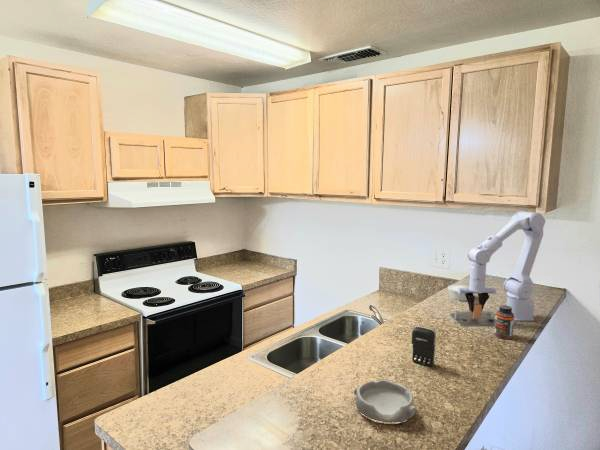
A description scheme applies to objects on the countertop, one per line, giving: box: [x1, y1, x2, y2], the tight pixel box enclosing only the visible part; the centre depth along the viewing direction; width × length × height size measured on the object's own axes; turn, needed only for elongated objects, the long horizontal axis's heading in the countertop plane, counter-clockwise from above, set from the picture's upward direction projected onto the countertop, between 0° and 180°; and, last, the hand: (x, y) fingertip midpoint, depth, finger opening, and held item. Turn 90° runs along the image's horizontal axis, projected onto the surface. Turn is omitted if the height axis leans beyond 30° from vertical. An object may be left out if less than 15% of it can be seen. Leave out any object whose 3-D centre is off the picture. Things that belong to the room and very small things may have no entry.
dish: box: [353, 379, 417, 422], centre depth 97 cm, size 14×14×5 cm
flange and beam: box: [449, 310, 496, 327], centre depth 155 cm, size 16×12×4 cm
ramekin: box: [447, 284, 469, 302], centre depth 183 cm, size 11×11×5 cm
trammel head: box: [473, 301, 483, 320], centre depth 155 cm, size 3×4×6 cm
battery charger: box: [411, 325, 437, 367], centre depth 120 cm, size 7×4×11 cm, turn 55°
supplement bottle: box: [494, 304, 515, 340], centre depth 139 cm, size 6×6×11 cm
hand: (475, 310), depth 155 cm, fingers closed on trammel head, 3 cm apart
